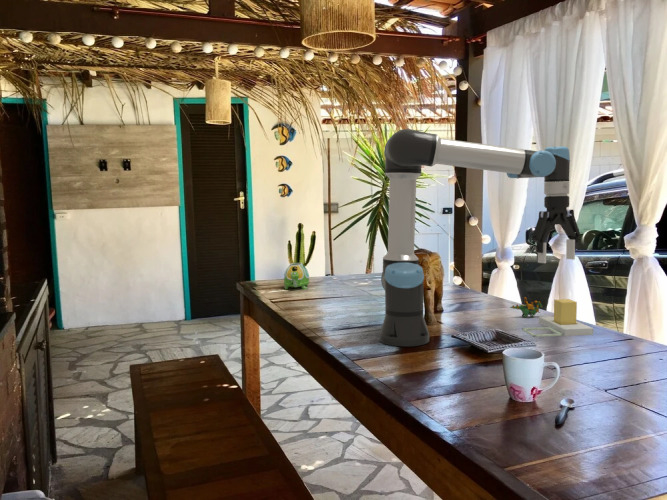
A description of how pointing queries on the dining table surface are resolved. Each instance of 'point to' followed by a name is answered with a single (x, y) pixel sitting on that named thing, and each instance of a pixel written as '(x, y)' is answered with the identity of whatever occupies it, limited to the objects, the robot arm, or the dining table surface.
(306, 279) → the turtle holder
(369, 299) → the dining table surface
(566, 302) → the block
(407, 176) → the robot arm
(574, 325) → the recessed block
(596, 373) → the dining table surface
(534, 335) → the tray
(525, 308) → the figurine
